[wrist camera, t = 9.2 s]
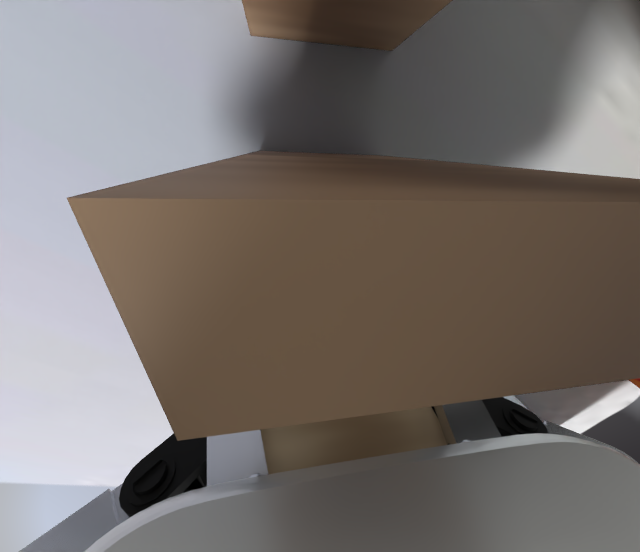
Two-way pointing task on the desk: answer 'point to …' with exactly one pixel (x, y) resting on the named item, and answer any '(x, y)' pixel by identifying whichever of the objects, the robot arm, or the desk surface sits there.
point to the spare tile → (350, 439)
